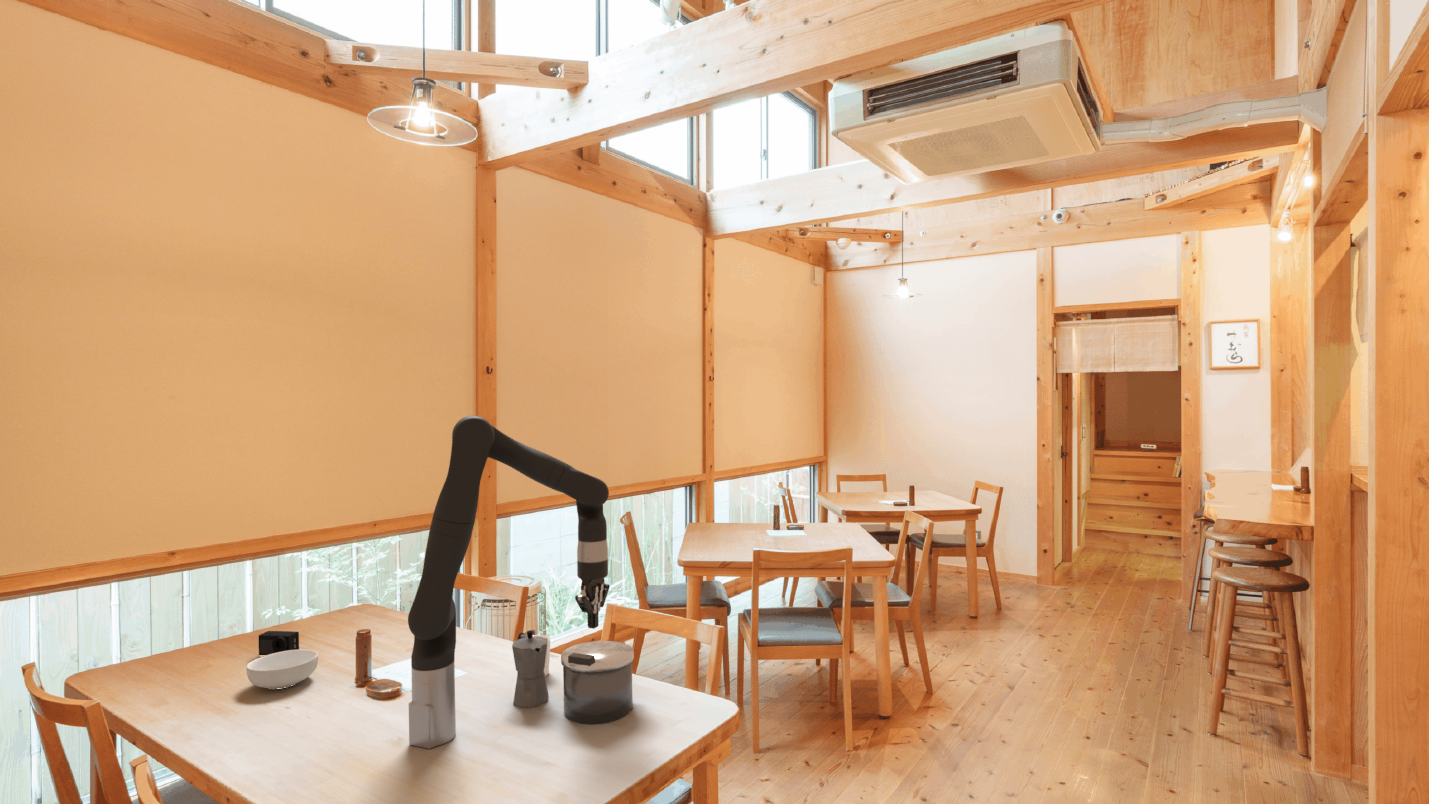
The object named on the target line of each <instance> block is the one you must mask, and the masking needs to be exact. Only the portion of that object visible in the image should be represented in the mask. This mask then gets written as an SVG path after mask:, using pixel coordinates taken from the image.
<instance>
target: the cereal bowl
mask: <svg viewBox="0 0 1429 804" xmlns="http://www.w3.org/2000/svg"><path fill="white" fill-rule="evenodd" d="M318 663H319V653H318V651H315V650H314V649H313V650H312V649H307V648H306V649H305V648H303V649H300V648H299V650H288V651H282V652H277V653H273V654H269V655H266V656H263V657H258V658H256V659H253V660H252V661H250V662H249V663H248V664H247V665H246V676H247V679H248V680H249V682H250V683H251V684H252V685H254V686H255V687H258V688H266V689H267V688H270V689H277V688H284V687H289V686H291V685H294V684H296V683H298V682H299V683H300V682H302V681H303V680H306V679H308V677H310V676H311V675H312V674H313V673H314V671H315V670H316V669H317V667H318ZM299 683H298V684H299Z"/></svg>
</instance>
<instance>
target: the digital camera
mask: <svg viewBox="0 0 1429 804" xmlns="http://www.w3.org/2000/svg"><path fill="white" fill-rule="evenodd" d="M299 649H300V632H299V631H293V630H292V631H287V630H285V631H284V630H267V631H265V632H263V633H261V634H259V635H258V656H259V655H269V654H273V653H277V652H282V651H288V650H299Z"/></svg>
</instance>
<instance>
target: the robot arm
mask: <svg viewBox="0 0 1429 804" xmlns="http://www.w3.org/2000/svg"><path fill="white" fill-rule="evenodd" d="M451 439H452V440H451V451H450V459H449V463H448V464H449V466H448V471H447V474H446V478H445V480H444V483H443V486H442V488H441V491H440V493H439V495H438V498H437V500H436V501H437V502H436V504H435V507H434V511H433V515H432V518H431V522H430V527H429V532H428V536H427V537H428V538H427V543H426V547H425V553H424V561H423V566H422V568H423V569H422V573H421V577H420V582H419V585H418V588H417V590H416V593H415V597H414V599H413V602H412V605H411V607H410V609H409V613H408V615H407V616H408V617H407V624H408V628H409V630H410V633H411V634H412V635H413V638H414V639H413V646H412V652H411V658H410V659H411V660H410V661H411V701H410V702H409V703H408V741H409V742H408V745H410V746H414V747H419V748H424V749H430V750H431V749H433V748H434V747H437V746H442V745H444V744H447V743H449V742H450V741H452V740H453V739H454V738H455V737H456V735H457V734H456V733H457V731H456V729H457V728H456V727H457V726H456V724H457V723H456V721H457V720H456V678H455V677H456V676H455V675H456V674H455V673H456V670H455V669H456V668H455V667H456V666H455V663H456V662H455V652H456V644H457V609H456V604H455V600H454V599H453V593H454V588H455V587H454V586H455V583H456V579H457V576H458V574H459V571H460V569H461V567H462V564H463V561H464V559H465V556H466V553H467V552H468V551H467V550H468V548H469V546H470V542H471V538H472V534H473V530H474V526H475V523H476V516H477V512H478V504H479V498H480V497H479V496H480V487H481V482H482V481H481V480H482V477H483V473H484V470H485V467H486V464H487V461H488V458H489V459H492V460H495V461H497V462H499V463H502V464H504V465H506V466H508V467H510V468H512V469H513V470H516V471H517V472H519V473H521V474H522V475H524V477H527V478H529V479H531V480H533V481H534V482H537V483H539V484H541V485H542V486H545V487H547V488H550V489H551V490H554V491H557V492H560V493H562V494H564V495H566V496H568V497H570V498H572V499H574V500H575V503H576V504H575V505H576V513H577V517H578V518H577V519H578V522H577V524H578V525H577V548H576V551H577V552H576V554H577V555H576V557H577V559H576V565H577V568H576V569H577V572H576V573H577V574H576V575H577V578H579V579H580V580H581V586H580V593H579V594H576V595H575V598H574V599H575V601H576V603H577V605H578V607H579V609H580V610H581V612H582V613H587V628H589V629H596V628H597V627H599V612H600V611H601V608H603V607H604V605H605V602H606V600H607V597H608V594H609V589H610V584H606V582H605V578H607V577H608V575H609V551H608V550H609V548H608V540H607V538H608V536H607V535H608V534H607V533H608V530H607V529H608V527H607V519H606V517H605V515H604V514H605V513H604V504H605V503H606V502H607V500H608V498H609V495H610V494H609V493H610V490H609V487H608V485H607V483H606V482H604V481H603V480H601V479H600V478H598V477H596V476H593V475H590V474H588V473H585V472H583V471H581V470H578V469H576V468H575V467H573V466H572V465H570V464H568V463H567V462H564V461H562V460H561V459H559V458H556V457H554V456H552V455H549V454H547V453H545V452H543V451H541V450H538V449H536V448H533V447H531V446H529V445H526V444H524V443H522V442H520V441H519V440H516V439H513V437H511V436H508V435H507V434H505V433H504V432H502V431H501V430H499V429H497V428H496V427H495V426H493V425H492V424H491V423H490V422H489V421H488V420H487V419H485V418H484V417H482V416H479V415H467V416H464V417H462V418H460V419H459V420H458V421H457V422H456V423H455V425H454V426H453V429H452V434H451Z"/></svg>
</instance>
